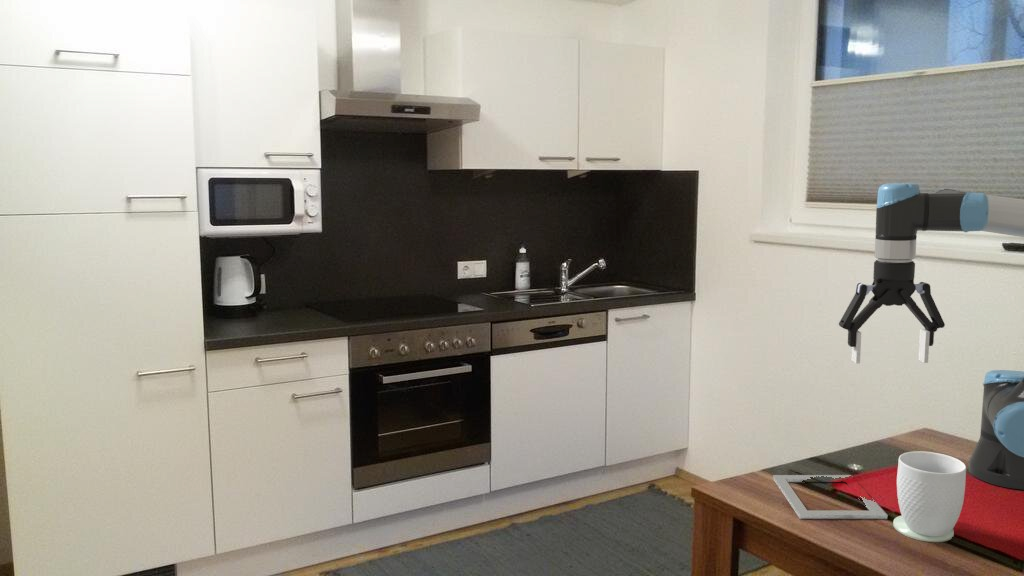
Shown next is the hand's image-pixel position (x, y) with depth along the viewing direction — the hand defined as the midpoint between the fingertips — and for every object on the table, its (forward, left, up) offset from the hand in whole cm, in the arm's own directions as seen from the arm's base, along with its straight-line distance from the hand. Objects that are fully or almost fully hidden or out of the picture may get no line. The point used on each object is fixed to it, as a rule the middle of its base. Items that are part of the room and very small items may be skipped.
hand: (889, 361), depth 163 cm
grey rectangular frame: (+14, +7, -27) cm, 31 cm away
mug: (+1, +21, -26) cm, 34 cm away
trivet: (+1, +21, -27) cm, 34 cm away
